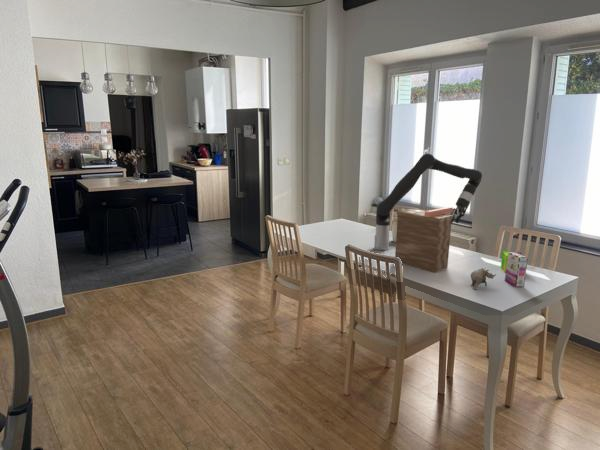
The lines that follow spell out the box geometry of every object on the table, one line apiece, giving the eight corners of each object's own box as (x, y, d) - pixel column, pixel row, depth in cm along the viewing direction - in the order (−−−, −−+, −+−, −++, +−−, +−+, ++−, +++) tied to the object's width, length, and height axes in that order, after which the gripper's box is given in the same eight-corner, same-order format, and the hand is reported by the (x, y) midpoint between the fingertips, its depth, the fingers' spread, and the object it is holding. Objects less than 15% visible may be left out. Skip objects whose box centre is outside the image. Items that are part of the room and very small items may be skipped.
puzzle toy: (523, 273, 255) (525, 257, 253) (504, 272, 257) (506, 255, 255) (518, 268, 265) (520, 252, 263) (500, 267, 267) (502, 251, 264)
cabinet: (435, 273, 254) (439, 218, 247) (393, 261, 275) (396, 211, 268) (448, 268, 263) (453, 215, 257) (407, 257, 285) (411, 208, 278)
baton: (428, 217, 251) (429, 212, 250) (424, 216, 253) (424, 211, 252) (452, 212, 268) (452, 207, 267) (448, 211, 270) (448, 206, 269)
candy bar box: (524, 287, 232) (528, 257, 229) (515, 287, 232) (519, 257, 228) (512, 280, 243) (516, 251, 239) (504, 280, 242) (507, 251, 239)
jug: (388, 242, 322) (390, 209, 317) (392, 238, 336) (394, 206, 331) (410, 245, 317) (412, 210, 311) (413, 240, 331) (415, 207, 325)
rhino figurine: (460, 282, 230) (474, 258, 231) (470, 292, 238) (483, 269, 240) (473, 288, 224) (488, 263, 226) (483, 298, 233) (496, 274, 234)
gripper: (454, 198, 282) (443, 220, 280) (464, 195, 267) (453, 219, 266) (464, 204, 282) (453, 226, 281) (475, 201, 268) (463, 225, 266)
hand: (453, 222), depth 273 cm, fingers open, 8 cm apart
